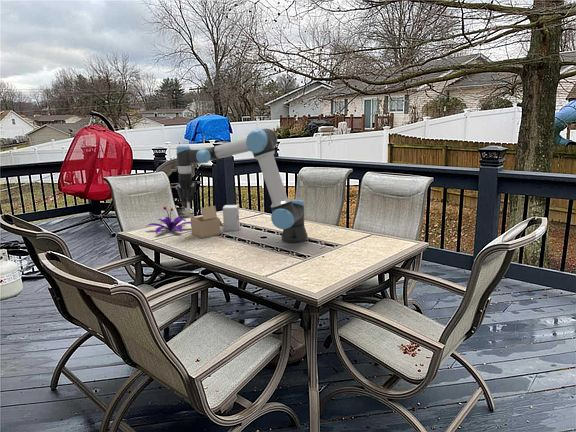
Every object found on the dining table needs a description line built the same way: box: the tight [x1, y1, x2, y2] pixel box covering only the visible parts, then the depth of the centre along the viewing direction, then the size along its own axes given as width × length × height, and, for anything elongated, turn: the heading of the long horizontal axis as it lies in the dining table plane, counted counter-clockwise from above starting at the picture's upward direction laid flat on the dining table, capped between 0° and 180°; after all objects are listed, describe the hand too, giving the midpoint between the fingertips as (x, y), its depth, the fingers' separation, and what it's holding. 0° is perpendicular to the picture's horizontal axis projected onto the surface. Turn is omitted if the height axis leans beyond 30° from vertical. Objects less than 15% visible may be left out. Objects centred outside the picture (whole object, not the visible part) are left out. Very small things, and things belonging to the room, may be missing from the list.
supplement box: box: [222, 204, 240, 232], centre depth 266 cm, size 9×9×15 cm
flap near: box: [201, 205, 218, 220], centre depth 249 cm, size 1×9×7 cm, turn 130°
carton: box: [190, 215, 224, 239], centre depth 258 cm, size 16×16×10 cm
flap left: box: [182, 211, 199, 221], centre depth 248 cm, size 9×1×7 cm
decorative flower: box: [145, 206, 191, 234], centre depth 266 cm, size 28×31×15 cm
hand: (188, 212), depth 248 cm, fingers closed
